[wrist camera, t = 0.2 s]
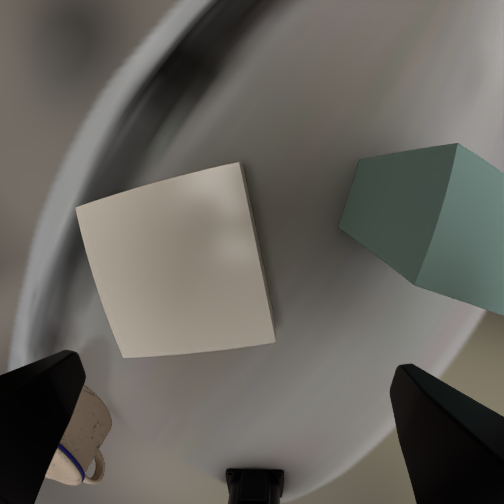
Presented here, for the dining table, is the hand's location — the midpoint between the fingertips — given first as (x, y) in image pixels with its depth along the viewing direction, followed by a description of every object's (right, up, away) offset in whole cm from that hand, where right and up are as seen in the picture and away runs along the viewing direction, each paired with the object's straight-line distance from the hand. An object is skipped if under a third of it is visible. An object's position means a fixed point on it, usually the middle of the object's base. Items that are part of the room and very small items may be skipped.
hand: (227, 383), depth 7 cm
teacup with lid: (-18, -15, +20) cm, 31 cm away
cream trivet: (-5, +2, +14) cm, 15 cm away
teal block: (+10, +7, +13) cm, 17 cm away
